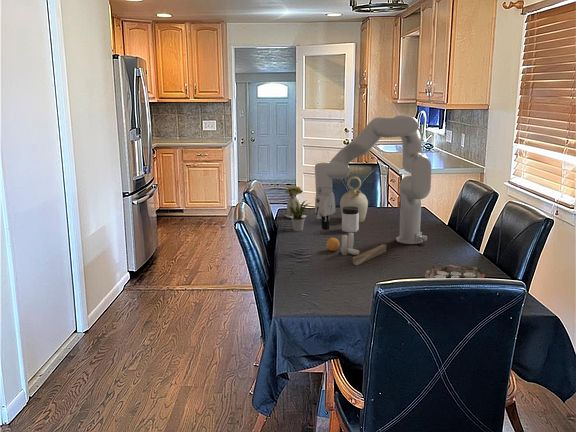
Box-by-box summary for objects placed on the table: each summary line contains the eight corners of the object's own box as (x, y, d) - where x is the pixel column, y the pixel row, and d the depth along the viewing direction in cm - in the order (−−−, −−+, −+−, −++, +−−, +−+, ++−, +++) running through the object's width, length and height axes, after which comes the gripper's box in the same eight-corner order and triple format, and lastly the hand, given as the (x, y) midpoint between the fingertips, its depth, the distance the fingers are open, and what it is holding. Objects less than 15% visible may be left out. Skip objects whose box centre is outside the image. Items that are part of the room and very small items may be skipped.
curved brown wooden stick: (386, 251, 238) (386, 245, 237) (356, 265, 220) (357, 258, 219) (382, 250, 239) (382, 244, 238) (352, 264, 221) (352, 257, 221)
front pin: (343, 251, 240) (359, 254, 234) (340, 252, 238) (356, 256, 233) (343, 246, 239) (359, 249, 234) (340, 248, 237) (356, 251, 232)
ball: (333, 234, 243) (332, 245, 245) (324, 237, 239) (322, 249, 241) (343, 239, 239) (341, 251, 241) (334, 242, 235) (332, 254, 237)
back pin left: (348, 254, 235) (348, 235, 233) (345, 255, 233) (345, 236, 232) (343, 253, 237) (343, 234, 235) (340, 254, 235) (340, 236, 233)
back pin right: (354, 251, 239) (354, 233, 237) (351, 252, 237) (351, 234, 235) (350, 250, 241) (350, 232, 239) (347, 251, 239) (347, 233, 237)
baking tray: (425, 270, 214) (425, 258, 213) (482, 274, 208) (482, 260, 207) (423, 297, 186) (423, 282, 185) (489, 301, 180) (489, 286, 179)
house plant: (314, 226, 285) (314, 196, 281) (313, 233, 272) (313, 202, 268) (288, 226, 286) (287, 196, 283) (285, 232, 273) (285, 201, 269)
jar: (343, 232, 271) (343, 210, 268) (340, 228, 279) (340, 206, 276) (360, 231, 272) (361, 209, 270) (356, 228, 280) (356, 205, 277)
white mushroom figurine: (293, 221, 298) (292, 188, 294) (280, 217, 308) (279, 185, 304) (309, 218, 305) (309, 186, 300) (296, 214, 315) (296, 183, 311)
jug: (366, 223, 289) (367, 178, 283) (338, 223, 292) (338, 178, 286) (368, 217, 303) (369, 174, 298) (341, 216, 306) (341, 174, 301)
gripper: (320, 194, 231) (322, 234, 236) (340, 188, 242) (341, 226, 247) (307, 192, 236) (309, 232, 240) (327, 186, 247) (328, 224, 251)
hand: (325, 229), depth 244 cm, fingers closed
